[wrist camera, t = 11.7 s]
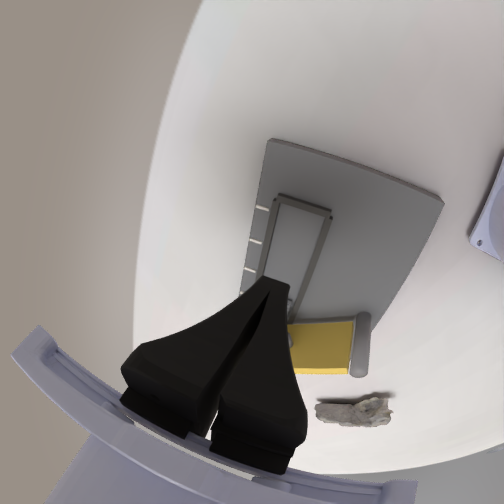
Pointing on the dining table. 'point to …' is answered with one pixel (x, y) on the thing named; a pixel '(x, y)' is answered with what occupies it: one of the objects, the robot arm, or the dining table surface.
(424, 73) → the dining table surface
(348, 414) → the stone
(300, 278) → the console
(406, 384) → the dining table surface
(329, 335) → the door
